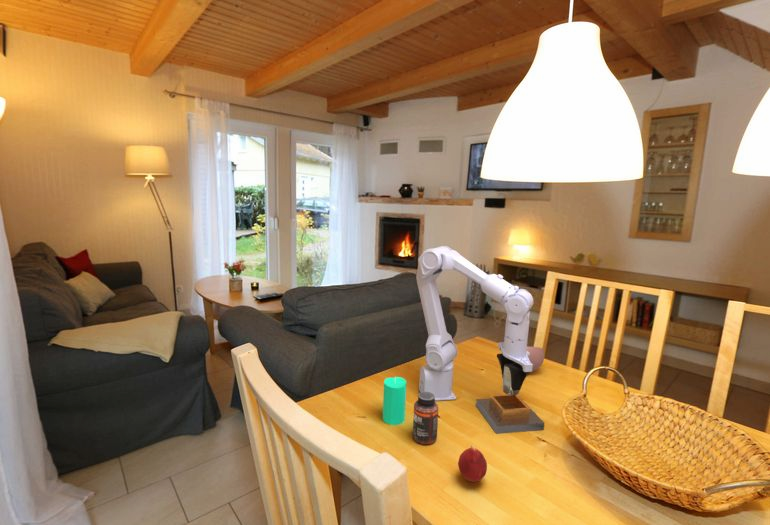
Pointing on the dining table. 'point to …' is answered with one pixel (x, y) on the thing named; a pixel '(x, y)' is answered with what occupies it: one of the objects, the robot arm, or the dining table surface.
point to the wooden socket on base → (509, 414)
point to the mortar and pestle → (536, 356)
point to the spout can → (508, 381)
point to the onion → (472, 464)
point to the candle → (394, 400)
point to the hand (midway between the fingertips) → (511, 385)
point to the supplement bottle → (425, 418)
